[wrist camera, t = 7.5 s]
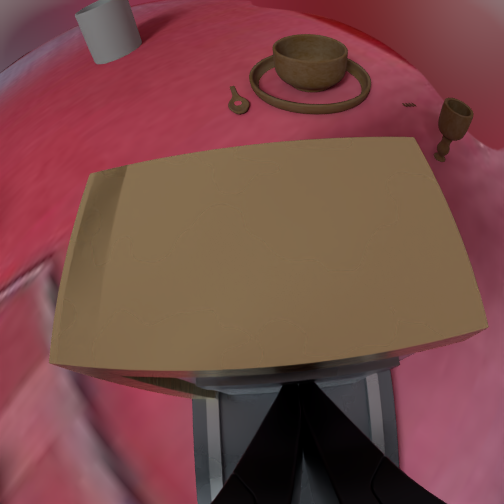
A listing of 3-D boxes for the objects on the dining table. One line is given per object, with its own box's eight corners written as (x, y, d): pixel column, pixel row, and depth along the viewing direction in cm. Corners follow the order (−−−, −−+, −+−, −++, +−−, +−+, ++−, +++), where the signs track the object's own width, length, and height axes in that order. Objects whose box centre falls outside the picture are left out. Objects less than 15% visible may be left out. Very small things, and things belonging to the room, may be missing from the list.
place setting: (361, 57, 31) (365, 16, 26) (462, 171, 21) (487, 119, 16) (218, 76, 31) (209, 31, 26) (259, 213, 21) (248, 149, 16)
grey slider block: (354, 387, 14) (435, 353, 6) (230, 399, 14) (159, 382, 6) (349, 344, 15) (413, 262, 7) (229, 355, 15) (162, 287, 7)
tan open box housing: (369, 384, 14) (502, 323, 4) (196, 399, 15) (48, 362, 5) (349, 264, 18) (399, 95, 8) (196, 279, 18) (107, 128, 8)
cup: (111, 65, 37) (90, 11, 28) (86, 63, 40) (66, 17, 31) (151, 39, 40) (136, -11, 31) (123, 39, 42) (108, -5, 34)
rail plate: (393, 541, 9) (399, 547, 9) (207, 558, 10) (202, 566, 9) (365, 262, 18) (369, 253, 17) (196, 278, 18) (191, 270, 17)
